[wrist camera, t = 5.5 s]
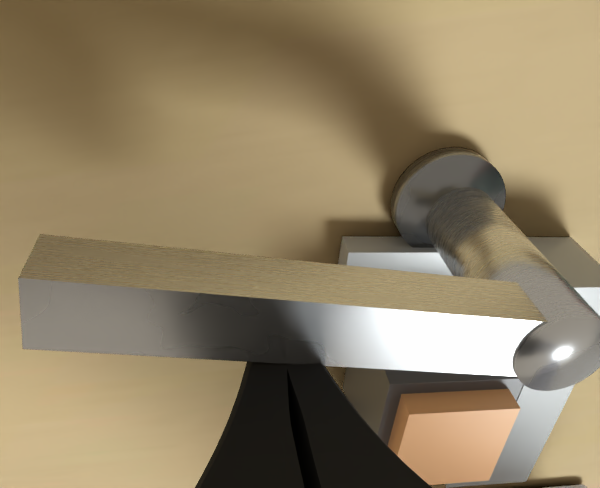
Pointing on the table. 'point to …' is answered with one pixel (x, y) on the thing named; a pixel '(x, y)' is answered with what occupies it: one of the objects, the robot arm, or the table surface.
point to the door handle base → (439, 188)
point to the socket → (534, 404)
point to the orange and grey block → (438, 418)
